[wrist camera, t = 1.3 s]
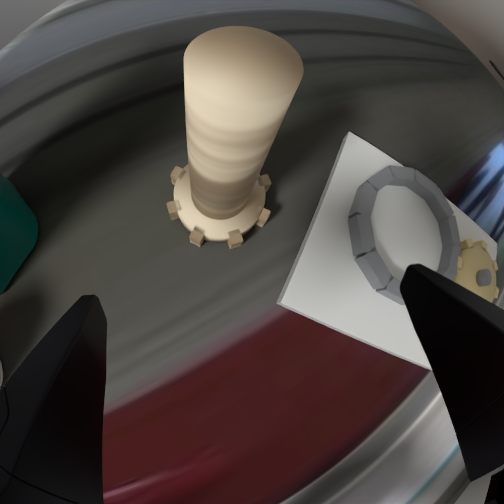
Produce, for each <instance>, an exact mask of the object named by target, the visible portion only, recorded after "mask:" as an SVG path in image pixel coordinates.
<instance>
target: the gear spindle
mask: <svg viewBox="0 0 504 504" xmlns="http://www.w3.org/2000/svg"><path fill="white" fill-rule="evenodd" d="M302 76H303V63H302V60H301V58H300V56H299V54H298V53H297V51H296V50H295V49H294V48H293V47H292V46H291V45H290V44H289V43H287V42H286V41H285V40H283V39H282V38H280V37H278V36H276V35H275V34H272V33H270V32H267V31H264V30H261V29H257V28H252V27H245V26H228V27H221V28H217V29H213V30H210V31H207V32H205V33H203V34H201V35H199V36H198V37H196V38H195V39H194V40H193V41H192V42H191V43H190V44H189V45H188V47H187V48H186V51H185V54H184V89H185V113H186V132H187V148H188V162H189V164H187V165H186V166H185V167H184V168H183V169H181V168H179V167H177V166H176V167H175V168H174V170H173V172H172V173H171V175H170V176H171V180H172V184H174V185H175V187H174V201H171V202H168V203H166V204H167V207H168V211H169V214H170V217H171V220H175V219H178V218H179V219H180V221H181V222H182V224H183V225H184V227H185V228H186V229H187V230H188V231H189V232H190V233H191V235H190V236H189V238H190V242H191V243H193V244H195V245H197V246H199V247H201V245H202V243H203V241H204V240H205V241H209V242H228V245H229V248H230V249H232V248H235V247H238V246H241V244H242V243H243V238H242V236H243V235H244V234H246V233H247V232H248V231H249V230H250V229H251V228H252V227H253V226H254V224H256V225H258V226H260V227H262V226H263V225H264V224H265V222H266V221H267V219H268V217H269V215H270V212H271V211H269V210H267V209H265V208H264V204H265V192H267V191H268V189H269V187H270V185H271V184H272V183H271V181H270V179H269V176H268V174H265V175H262V176H260V175H259V173H260V171H261V168H262V166H263V164H264V162H265V159H266V157H267V155H268V152H269V150H270V148H271V146H272V143H273V141H274V139H275V136H276V134H277V132H278V130H279V127H280V125H281V123H282V121H283V118H284V116H285V114H286V112H287V109H288V107H289V105H290V103H291V101H292V98H293V96H294V94H295V92H296V90H297V87H298V85H299V83H300V81H301V79H302Z"/></svg>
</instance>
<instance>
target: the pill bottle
mask: <svg viewBox="0 0 504 504" xmlns="http://www.w3.org/2000/svg"><path fill="white" fill-rule="evenodd" d="M2 381H3V369H2V364H1V360H0V387H1V385H2Z"/></svg>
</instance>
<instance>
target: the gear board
mask: <svg viewBox="0 0 504 504" xmlns="http://www.w3.org/2000/svg"><path fill="white" fill-rule="evenodd" d="M496 254H497V243H496V242H495V241H494V240H493V239H492V238H491V237H490V236H489V235H488V234H487V233H486V232H485V231H483V230H482V229H481V228H480V227H479V226H478V225H477V224H476V223H475V222H474V221H472V220H471V219H470V218H469V217H468V216H467V215H466V214H465V213H463V212H462V211H461V210H460V209H459V208H457V207H456V206H455V205H454V204H453V203H451V202H450V201H449V200H448V199H447V198H445V196H444V195H443V193H442V191H441V190H440V188H437V185H436V184H435V183H434V182H432V181H431V180H430V179H428V178H427V177H426V176H424V175H423V174H422V173H420V172H419V171H418V170H416V169H415V170H414V168H409V167H404V166H403V165H401V164H400V163H398V162H397V161H395V160H394V159H392V158H391V157H389V156H388V155H386V154H385V153H383V152H382V151H380V150H379V149H377V148H376V147H374V146H372V145H371V144H369V143H368V142H366V141H364V140H363V139H361V138H359V137H358V136H356V135H354V134H353V133H351V132H348V133H347V135H346V136H345V137H344V139H343V141H342V144H341V147H340V149H339V152H338V155H337V157H336V160H335V163H334V165H333V168H332V170H331V173H330V176H329V178H328V181H327V183H326V186H325V188H324V191H323V193H322V196H321V198H320V201H319V203H318V206H317V208H316V211H315V213H314V216H313V218H312V221H311V223H310V226H309V228H308V231H307V233H306V235H305V238H304V240H303V243H302V245H301V247H300V250H299V252H298V254H297V257H296V259H295V261H294V264H293V266H292V268H291V271H290V273H289V275H288V278H287V280H286V282H285V285H284V287H283V289H282V291H281V294H280V296H279V298H278V300H277V304H279V305H281V306H283V307H285V308H287V309H290V310H292V311H294V312H296V313H298V314H301V315H303V316H305V317H307V318H309V319H312V320H314V321H316V322H318V323H320V324H323V325H325V326H327V327H329V328H332V329H334V330H336V331H339V332H341V333H343V334H345V335H348V336H350V337H352V338H355V339H357V340H359V341H362V342H364V343H366V344H369V345H371V346H373V347H376V348H378V349H380V350H383V351H385V352H387V353H390V354H392V355H395V356H397V357H400V358H402V359H404V360H407V361H409V362H412V363H414V364H417V365H419V366H422V367H424V368H427V369H429V370H432V368H431V366H430V364H429V361H428V359H427V357H426V354H425V352H424V350H423V348H422V345H421V343H420V341H419V339H418V337H417V334H416V332H415V330H414V327H413V324H412V322H411V319H410V316H409V314H408V311H407V308H406V306H405V303H404V301H403V298H402V295H401V293H400V283H401V281H402V278H403V276H404V273H405V271H406V268H407V267H408V266H409V265H410V264H417V263H419V264H422V265H424V266H426V267H428V268H430V269H431V270H433V271H435V272H437V273H439V274H441V275H443V276H445V277H446V278H448V279H450V280H452V281H454V282H456V283H457V284H459V285H461V286H463V287H465V288H466V289H468V290H470V291H472V292H474V293H475V294H477V295H479V296H481V297H482V298H484V299H486V300H487V301H489V302H491V303H492V302H493V299H494V298H498V293H499V289H498V288H497V287H496V272H495V271H496V270H497V269H498V266H497V262H496Z"/></svg>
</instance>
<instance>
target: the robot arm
mask: <svg viewBox="0 0 504 504" xmlns="http://www.w3.org/2000/svg"><path fill="white" fill-rule="evenodd" d="M400 293H401V295H402V298H403V301H404V303H405V306H406V308H407V311H408V314H409V316H410V319H411V322H412V324H413V327H414V330H415V332H416V334H417V337H418V339H419V341H420V343H421V345H422V348H423V350H424V352H425V354H426V357H427V359H428V361H429V364H430V366H431V368H432V371H433V373H434V376H435V378H436V380H437V383H438V385H439V388H440V391H441V393H442V396H443V398H444V401H445V404H446V406H447V409H448V412H449V415H450V418H451V421H452V423H453V426H454V429H455V433H456V436H457V439H458V443H459V446H460V449H461V453H462V456H463V459H464V463H465V467H466V470H467V474H468V478H469V481H470V482H472V481H474V480H476V479H478V478H480V477H482V476H483V475H485V474H487V473H489V472H491V471H493V470H495V469H496V468H498V467H500V466H502V465H503V464H504V310H503V309H501V308H499V307H498V306H496V305H494V304H493V303H491V302H489V301H487V300H486V299H484V298H482V297H481V296H479V295H477V294H475V293H474V292H472V291H470V290H468V289H466V288H465V287H463V286H461V285H459V284H457V283H456V282H454V281H452V280H450V279H448V278H446V277H445V276H443V275H441V274H439V273H437V272H435V271H433V270H431V269H430V268H428V267H426V266H424V265H422V264H419V263H417V264H410V265H409V266H408V267H407V268H406V271H405V273H404V276H403V278H402V281H401V283H400ZM106 341H107V320H106V316H105V313H104V311H103V309H102V306H101V303H100V301H99V299H98V297H97V296H96V295H83V296H81V297H80V298H79V299H78V300H77V301H76V302H75V303H74V304H73V306H72V307H71V308H70V309H69V310H68V311H67V312H66V313H65V314H64V315H63V316H62V317H61V318H60V320H59V321H58V322H57V323H56V324H55V325H54V326H53V327H52V328H51V330H50V331H49V332H48V333H47V334H46V335H45V336H44V337H43V339H42V340H41V341H40V342H39V343H38V344H37V346H36V347H35V348H34V349H33V350H32V351H31V353H30V354H29V355H28V356H27V357H26V359H25V360H24V361H23V362H22V363H21V365H20V366H19V367H18V368H17V370H16V371H15V372H14V373H13V375H12V376H11V377H10V379H9V380H8V381H7V382H6V384H5V387H2V389H1V390H0V504H104V502H103V482H102V431H103V410H104V396H105V384H106ZM484 504H504V465H503V466H502V467H501V468H500V469H498V470H497V471H496V472H495V473H494V474H493V475H492V476H491V480H490V485H489V489H488V492H487V496H486V500H485V503H484Z"/></svg>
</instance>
